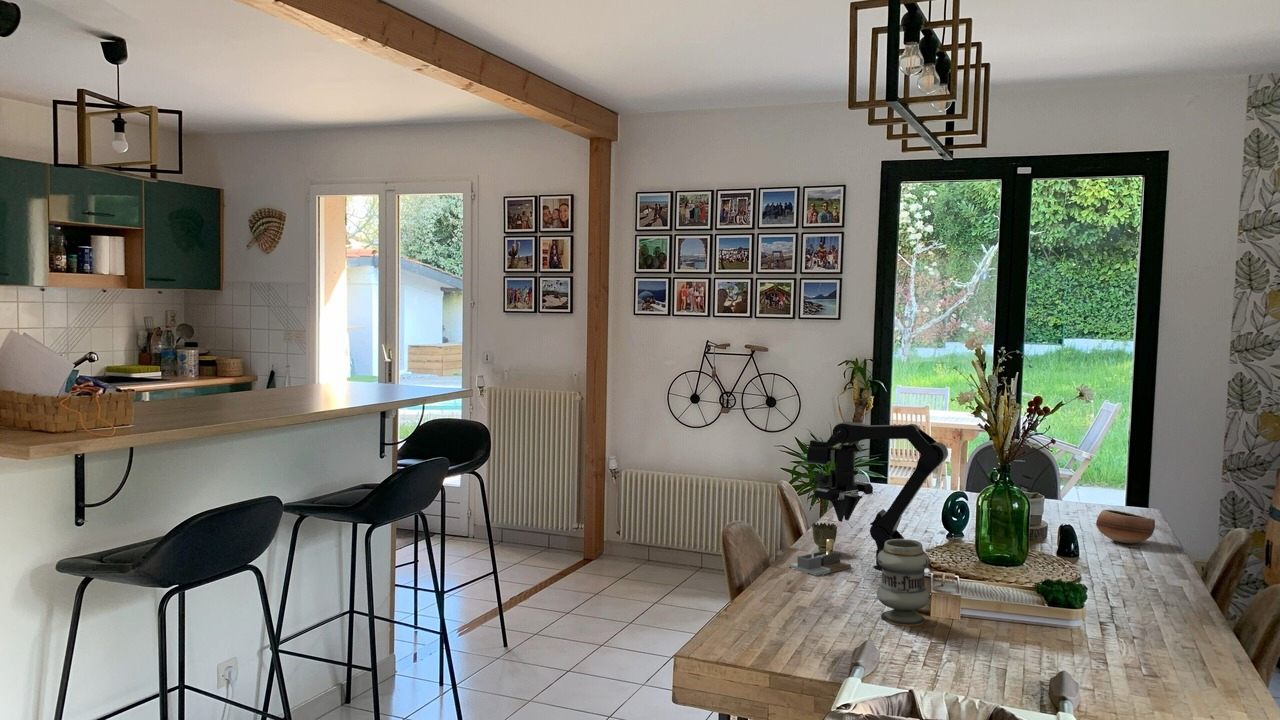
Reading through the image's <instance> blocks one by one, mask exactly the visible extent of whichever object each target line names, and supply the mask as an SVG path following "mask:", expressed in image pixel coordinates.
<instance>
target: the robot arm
mask: <svg viewBox="0 0 1280 720" xmlns="http://www.w3.org/2000/svg"><path fill="white" fill-rule="evenodd" d="M864 440H907V441H908V442H909V443H910V444H911V446H912V447H913V449H915V450H916V451H917V452H918V453H919V454H920V456H919V458H918V459H917V464H916V466H915V469H914V471H913V473H912V474H911V476H910V477H909V478H908V480H907V481H906V483H905V484H904V486H902V489H901V490H900V491H899V493H898V495H897V496H896V498H895V499H894V500H893V502H892V504H890V506H889V508H888V509H887V510H885V509H884V508H882V509H881V510H880V511H879V512H878V511H877V514H876V515H875V517H874V520H873V521H872V522H870V523H869V525H871V526H870V529H869V534H870V537H871V538H872V539H873V541H875V544H876V547H877V548H876V550H875V553H876V555H875V565H872V566H873V568H874V569H877V570H880V571H882V566H881V565H880V564H879V563H878V561H877V556H878V554H879V552H880V551H882V550H883V549H884V544H885V542H886V541H888V540H892V539H905V537H904V536H903V535H902V534H901V533H900V532H899V531H898V528H899V525H900V524H901V523H900V522H901V520H902V517H903V515H904V513H905V512H906V510H907V509H908V507H909V506H910V504H911V502H912V501H913V500H914V498H915V497H916V496H917V494H918V492H919V491H920V490H921V488H922V486H923V485H924V484H925V482H926V481H927V479H928V478H929V476H931V475H932V473H934V472H935V470H936V469H937V468H939V467H940V466H941V464H943V463H944V461H946V460H947V458H948V456H949V452H948V451H949V450H948V448H947V446H946V445H945V444H944V443H942V442H940V441H936V440H935V438H933V437H932V436H930V435H929V434H927V432H925V431H924V430H922V429H921V428H920V426H918V425H917V424H914V423H910V424H878V425H877V424H876V425H875V424H874V425H873V424H872V425H871V424H869V425H868V424H863V423H859V422H855V421H854V422H853V421H844V422H840V423H838V424H836V425H835V426H834V427H833V429H832V435H831V436H830V437H829V438H828V440H827V441H823V440H817V439H811V440H810V441H809V446H808V448H807V453H806V459H807V460H806V461H807V463H808V464H810V465H811V464H812V465H824V466H829V465H830V463H831V462H833V463H834V464H833V468H832V469H830V471H829V472H830V473H829V474H824V473H822V472H819V473H815V474H814V484H815V486H819V487H816V488H815V489H814V498H815V499H820V500H825V501H830V502H831V504H832V506H833V508H834V511H835V514H836V518H837V521H838V522H840V523H842V522H843V520H845V521H847V522H849V520H850V518H851V516H852V515H853V513H854V510H855V509H856V507H857V505H858V504H859V502H860V500H861V499H863V496H862V495H859V494H860V493H859V492H862V493H864V494H865V495H872V494H874V490H873V489H874V487H873V485H872V484H871V483H869V482H863V481H856V479H855V475H858V474H859V470H857V469H855V466H856V465H855V464H856V463H855V462H856V453H859V452H861V451H863V447H861V446H860V445H859V443H858V442H859V441H860V442H861V441H864ZM853 442H854V443H853ZM848 443H853V444H848ZM839 444H840V445H841V444H842V445H841V446H839V447H837V445H839Z"/></svg>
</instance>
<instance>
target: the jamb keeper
mask: <svg viewBox="0 0 1280 720" xmlns="http://www.w3.org/2000/svg"><path fill="white" fill-rule="evenodd" d="M812 556H813V554H811V553H809V554H804V555H800V556H797V562H794V563H790V564H789V566H788V568H789V567H792V568H795V569H797V570H796V571H798V570H800V571H799V572H801V571H803V572H802V573H805V572H806V573H805V574H808V573H810V574H809V575H811V574H813V575H812V576H815V575H818V576H821V575H820V574H822V575H825V573H826V574H830V573H831V572H830V569H829V568H825V567H822V566H821V557H815V558H814V557H812ZM795 569H794V570H795Z"/></svg>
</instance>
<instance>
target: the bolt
mask: <svg viewBox="0 0 1280 720" xmlns="http://www.w3.org/2000/svg"><path fill="white" fill-rule="evenodd" d="M834 545H835V543H834V540H833V539H827V542H826V553H825V554H821V555H816V556H814V555H813V558H815V557H821V565H822V564H823V556H824V555H829V554H834V553H835V552H834V551H835V550H834V549H835V546H834Z"/></svg>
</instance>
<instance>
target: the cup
mask: <svg viewBox="0 0 1280 720" xmlns="http://www.w3.org/2000/svg"><path fill="white" fill-rule="evenodd" d="M811 527H812V528H811V529H812V538H813V542H814V544H815V545H816V546H817V550H818V552H820V551H821V552H822V551H826V542H827V539H833V540H834V544H835V542H836V539H837V533H838V526H837V524H835V523H830V522H828V523H827V524H826V522H820V523H819V522H817V523H814V522H812V524H811Z"/></svg>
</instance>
